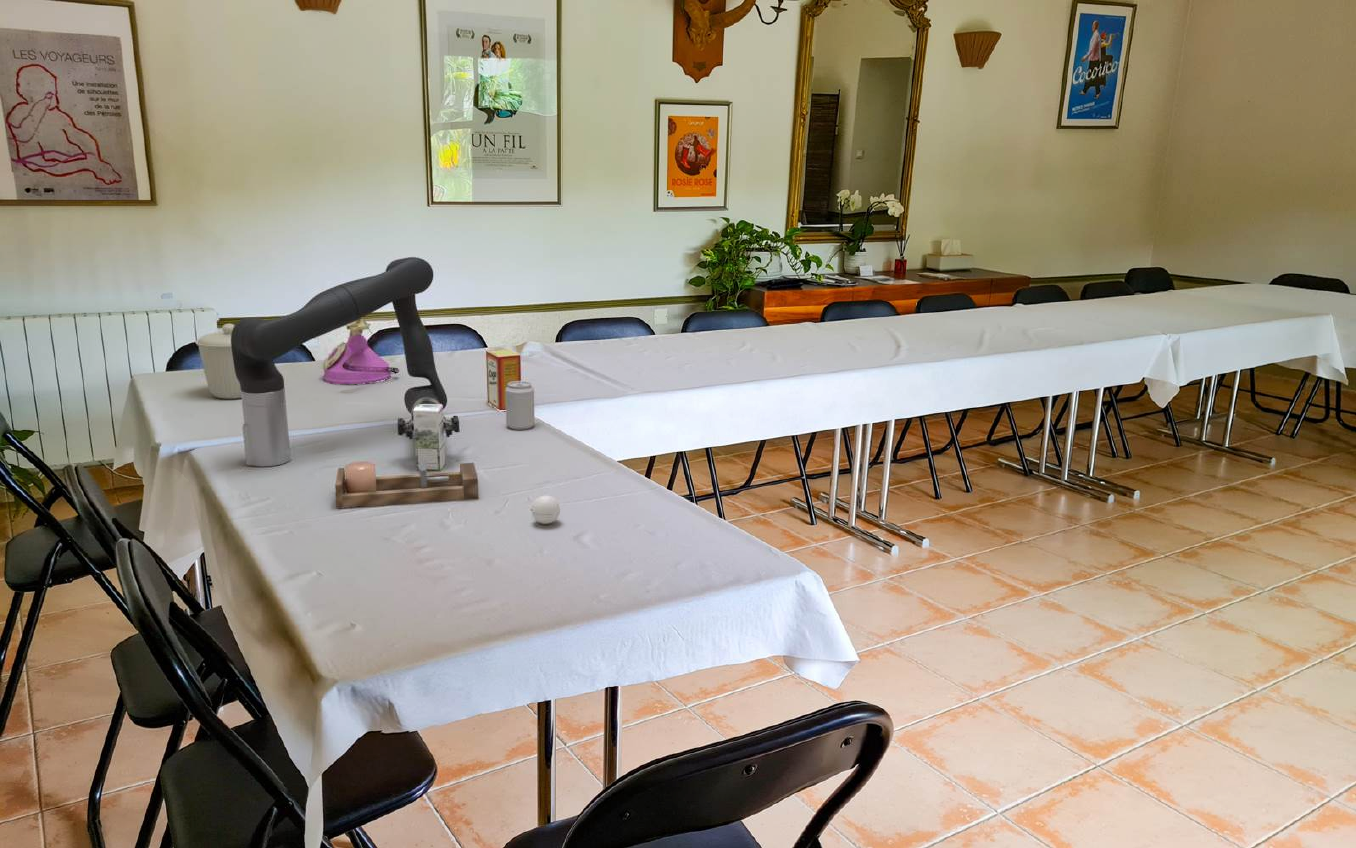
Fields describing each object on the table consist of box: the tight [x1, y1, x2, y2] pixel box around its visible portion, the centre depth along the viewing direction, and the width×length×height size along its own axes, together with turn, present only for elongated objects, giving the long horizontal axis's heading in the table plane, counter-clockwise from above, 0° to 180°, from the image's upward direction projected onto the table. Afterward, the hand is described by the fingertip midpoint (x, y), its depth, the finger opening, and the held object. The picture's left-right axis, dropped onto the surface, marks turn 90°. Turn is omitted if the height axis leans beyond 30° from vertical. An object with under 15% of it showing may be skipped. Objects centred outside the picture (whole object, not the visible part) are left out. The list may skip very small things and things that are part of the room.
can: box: [505, 380, 536, 431], centre depth 256 cm, size 8×8×12 cm
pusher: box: [419, 460, 449, 489], centre depth 206 cm, size 6×7×6 cm
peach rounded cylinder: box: [344, 461, 378, 494], centre depth 202 cm, size 6×6×7 cm
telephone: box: [322, 317, 400, 385], centre depth 301 cm, size 36×22×25 cm, turn 25°
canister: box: [194, 323, 242, 400], centre depth 281 cm, size 18×18×21 cm
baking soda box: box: [485, 348, 522, 410], centre depth 276 cm, size 10×6×16 cm
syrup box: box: [413, 404, 446, 471], centre depth 222 cm, size 6×6×14 cm
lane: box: [334, 462, 479, 509], centre depth 205 cm, size 28×11×5 cm, turn 106°
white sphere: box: [530, 494, 561, 525], centre depth 190 cm, size 8×6×6 cm
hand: (429, 434), depth 220 cm, fingers open, 7 cm apart
